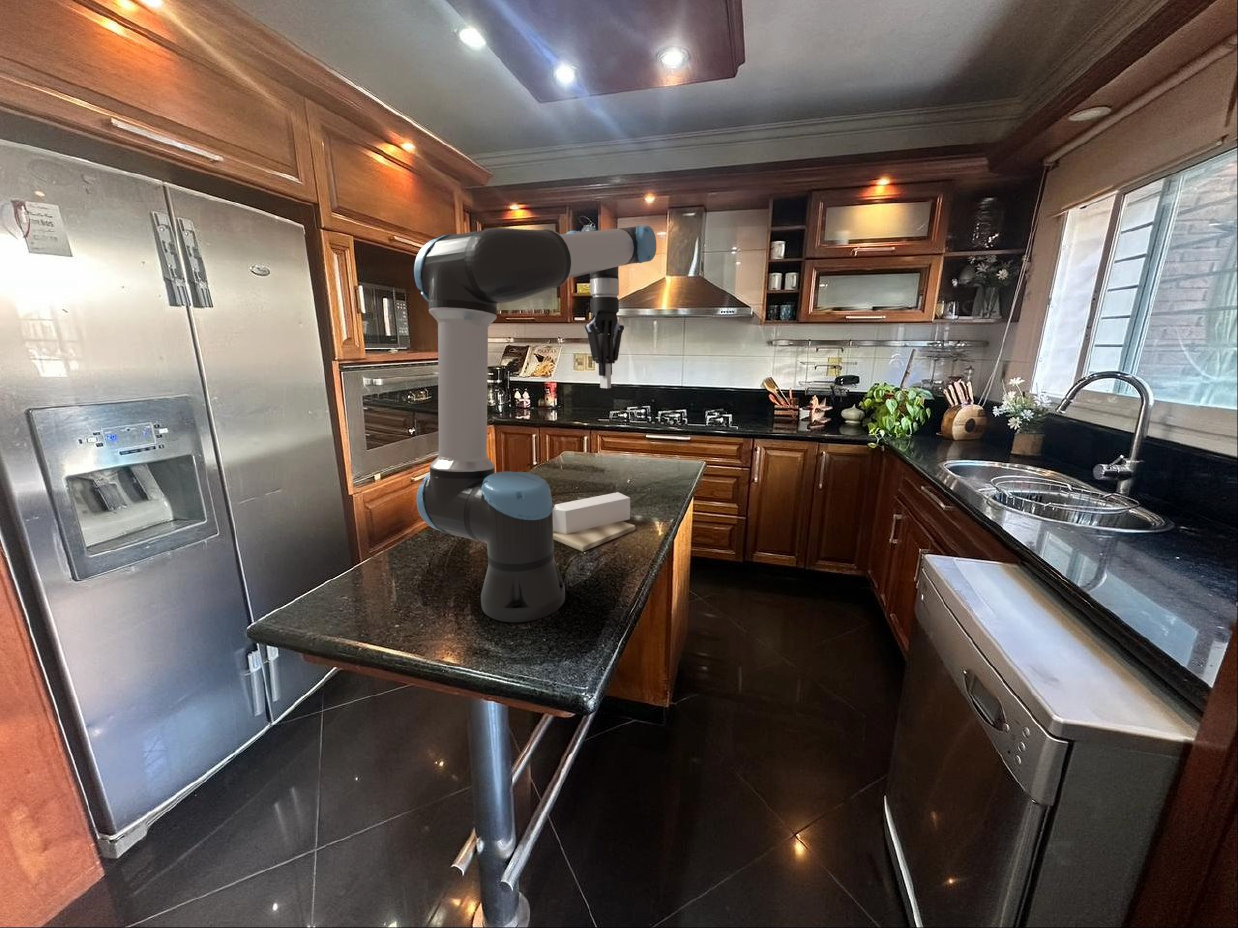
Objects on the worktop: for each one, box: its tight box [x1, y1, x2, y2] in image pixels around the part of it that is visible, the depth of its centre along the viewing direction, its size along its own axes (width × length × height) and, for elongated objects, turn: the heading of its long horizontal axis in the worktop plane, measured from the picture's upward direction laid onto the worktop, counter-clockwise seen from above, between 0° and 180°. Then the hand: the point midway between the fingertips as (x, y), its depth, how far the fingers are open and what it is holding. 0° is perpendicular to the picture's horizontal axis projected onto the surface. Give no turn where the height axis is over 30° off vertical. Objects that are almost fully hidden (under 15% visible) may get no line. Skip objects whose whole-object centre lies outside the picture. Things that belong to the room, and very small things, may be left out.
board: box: [553, 521, 636, 552], centre depth 119 cm, size 18×12×1 cm, turn 137°
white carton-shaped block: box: [553, 491, 631, 534], centre depth 122 cm, size 6×6×22 cm
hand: (605, 387), depth 131 cm, fingers closed
